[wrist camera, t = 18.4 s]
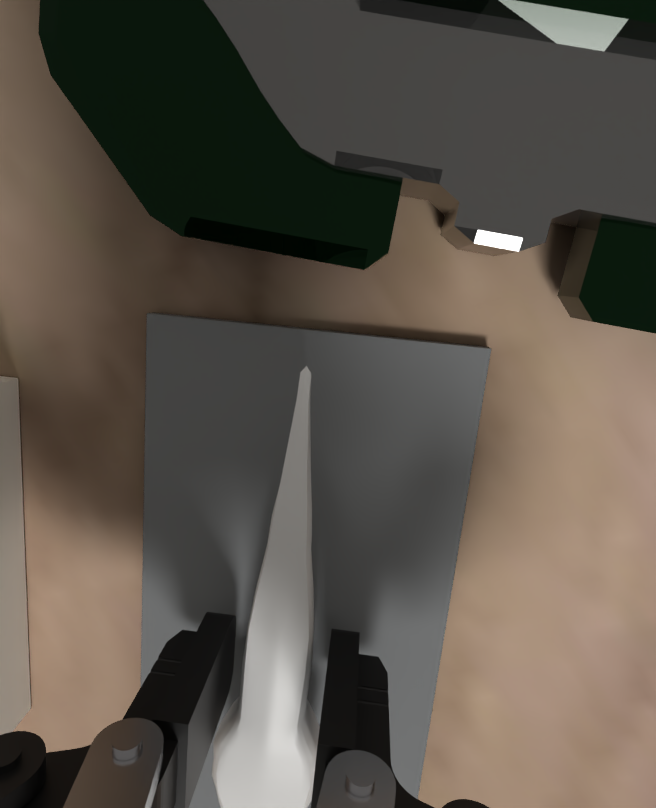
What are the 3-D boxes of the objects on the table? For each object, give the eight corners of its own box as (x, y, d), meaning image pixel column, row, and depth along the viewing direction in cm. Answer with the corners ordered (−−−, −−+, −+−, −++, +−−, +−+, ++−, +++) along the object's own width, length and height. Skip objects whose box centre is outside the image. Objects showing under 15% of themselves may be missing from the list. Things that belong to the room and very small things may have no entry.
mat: (143, 858, 17) (137, 871, 17) (153, 312, 13) (146, 313, 13) (397, 899, 17) (398, 914, 16) (487, 346, 13) (491, 349, 12)
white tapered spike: (306, 881, 16) (296, 961, 14) (215, 865, 16) (194, 942, 14) (370, 366, 12) (369, 381, 10) (253, 352, 12) (232, 364, 10)
